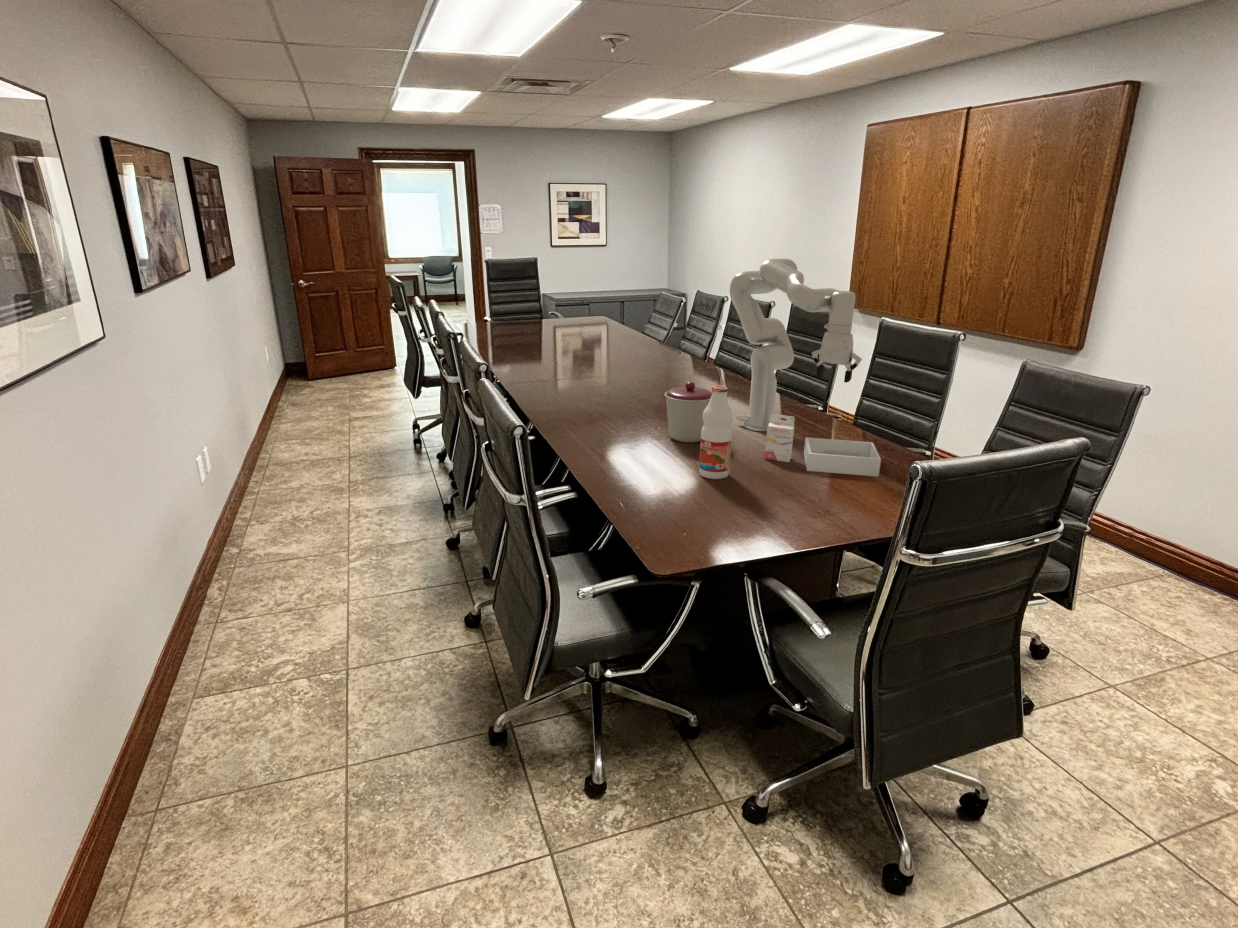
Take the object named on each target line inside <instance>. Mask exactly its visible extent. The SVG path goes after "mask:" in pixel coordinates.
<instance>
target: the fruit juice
mask: <svg viewBox="0 0 1238 928" xmlns="http://www.w3.org/2000/svg"><path fill="white" fill-rule="evenodd" d="M710 389H711V390H710V392H711V393H712V396H711V399H710V401H709V403H708V405H707V407H706V408H705V410H704V412H703V421H704V425H703V427H702V431H701V441H700V445H699V462H698V464H699V465H698V474H699V476H701V477H703V478H706V479H709V480H711V479H712V480H722V479H723V480H724V479H725V478H728V476H729V473H730V464H731V454H732V453H731V452H732V438H733V437H732V436H733V430H732V427H731V426H732V425H731V424H732V422H733V419H734V418H733V417H734V414H733V411H732V409H731V407H730V405H729V401H728V397H727V394H728V392H729V388H728V387H727V386H725V385H713V386H711V388H710Z"/></svg>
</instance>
